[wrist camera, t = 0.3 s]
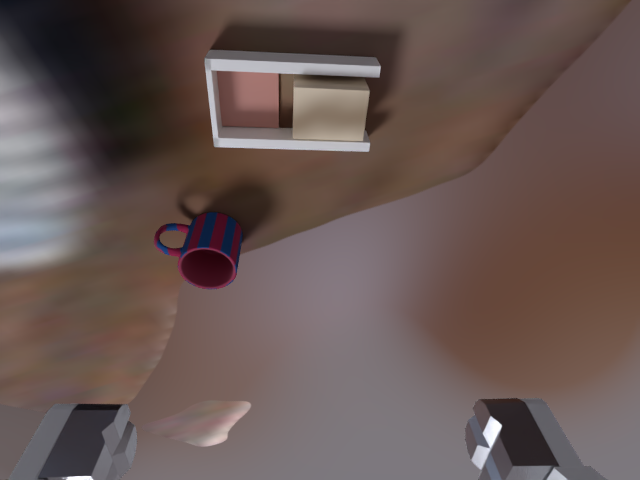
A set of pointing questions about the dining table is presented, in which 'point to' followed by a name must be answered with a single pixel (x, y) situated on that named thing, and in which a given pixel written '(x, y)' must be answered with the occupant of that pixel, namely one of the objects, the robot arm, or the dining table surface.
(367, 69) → the white u-shaped frame
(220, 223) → the mug
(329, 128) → the block
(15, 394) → the dining table surface
